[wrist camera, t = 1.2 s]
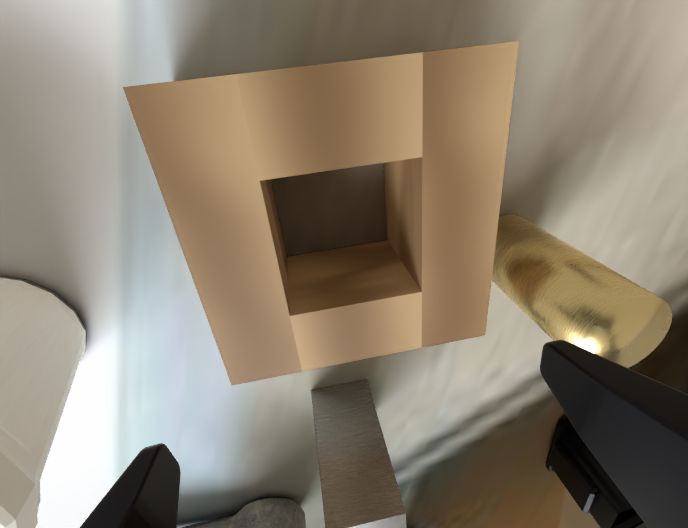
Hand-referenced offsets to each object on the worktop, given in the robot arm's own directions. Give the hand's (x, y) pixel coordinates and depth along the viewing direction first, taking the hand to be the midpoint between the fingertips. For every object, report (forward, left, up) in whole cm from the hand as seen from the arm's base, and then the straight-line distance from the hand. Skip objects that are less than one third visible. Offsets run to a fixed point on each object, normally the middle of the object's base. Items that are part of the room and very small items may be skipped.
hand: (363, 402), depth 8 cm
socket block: (-1, -1, -11) cm, 11 cm away
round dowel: (-10, +3, -11) cm, 15 cm away
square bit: (0, +13, -11) cm, 16 cm away
